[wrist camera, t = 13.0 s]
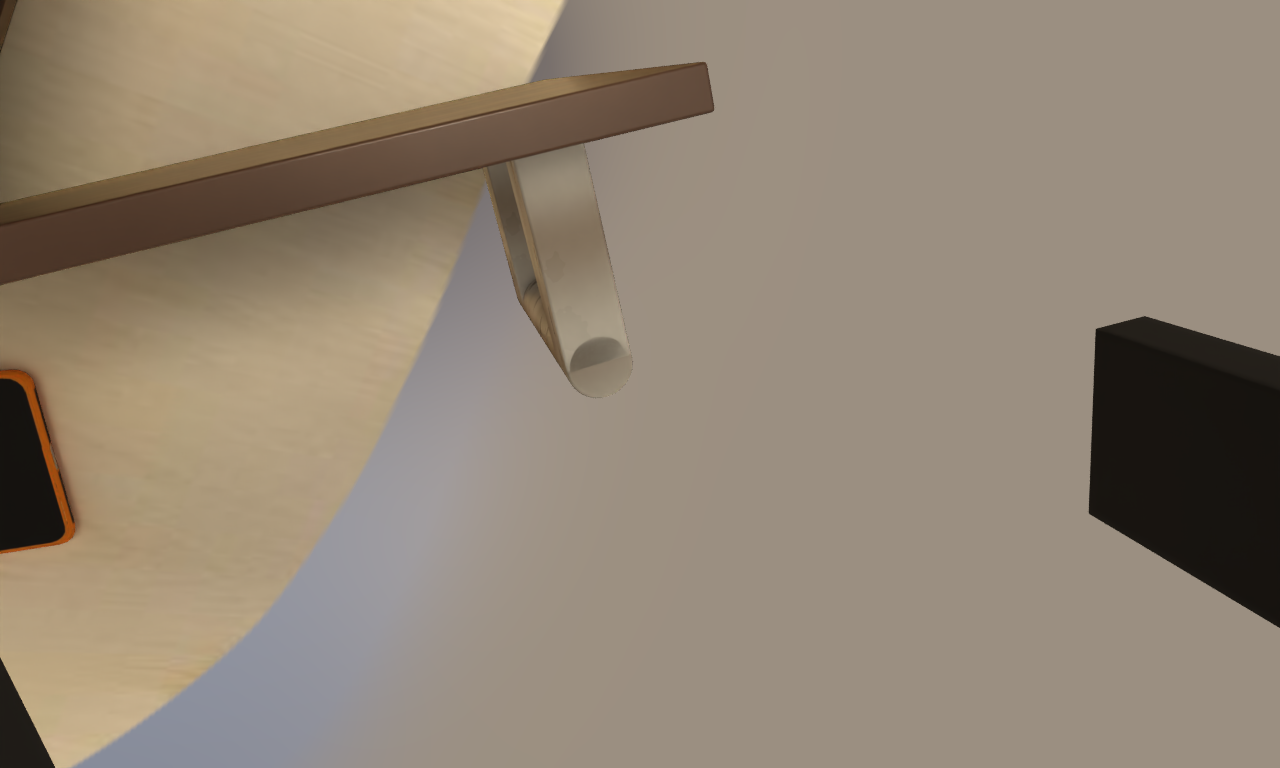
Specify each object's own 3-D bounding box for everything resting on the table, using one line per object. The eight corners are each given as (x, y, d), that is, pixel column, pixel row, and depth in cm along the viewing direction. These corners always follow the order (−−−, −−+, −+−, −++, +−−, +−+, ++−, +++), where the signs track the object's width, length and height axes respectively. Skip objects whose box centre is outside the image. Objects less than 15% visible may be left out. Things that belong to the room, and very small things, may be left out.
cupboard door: (590, 265, 39) (767, 413, 21) (59, 408, 35) (-298, 745, 17) (547, 79, 36) (707, 61, 18) (-37, 211, 32) (-591, 361, 14)
